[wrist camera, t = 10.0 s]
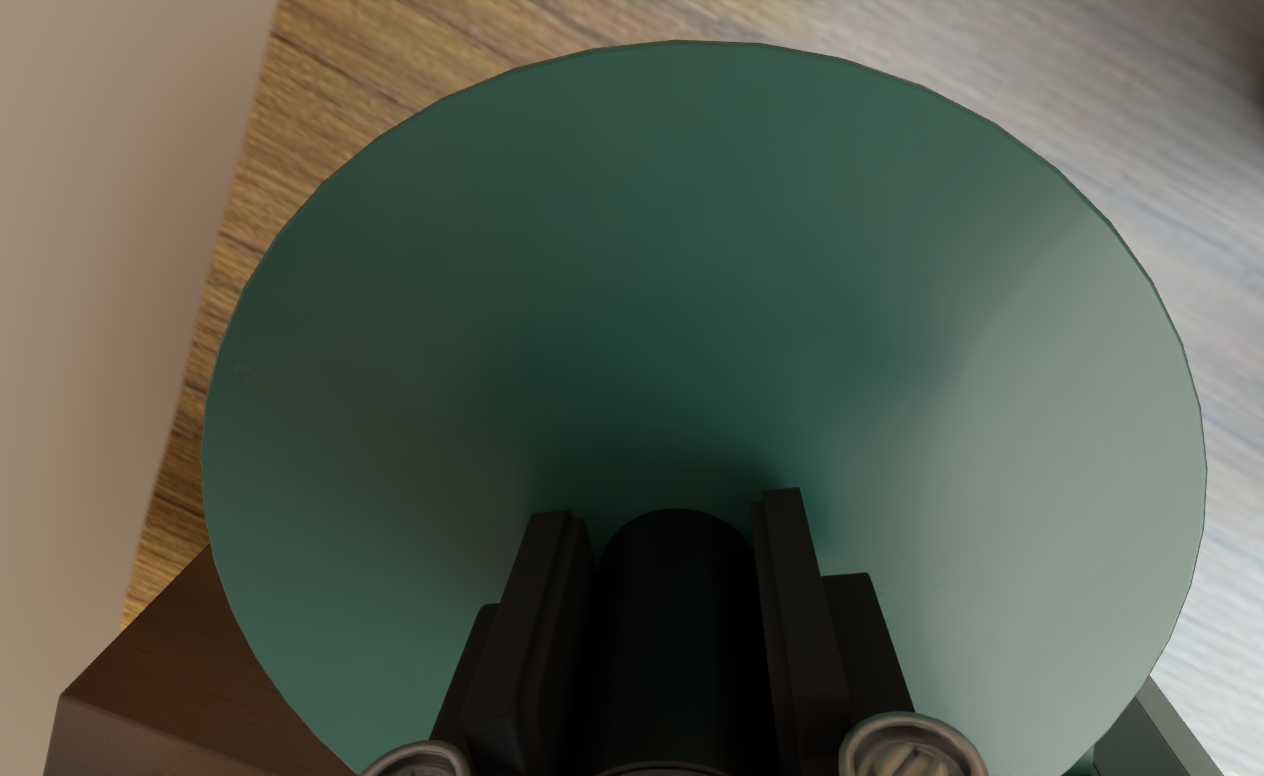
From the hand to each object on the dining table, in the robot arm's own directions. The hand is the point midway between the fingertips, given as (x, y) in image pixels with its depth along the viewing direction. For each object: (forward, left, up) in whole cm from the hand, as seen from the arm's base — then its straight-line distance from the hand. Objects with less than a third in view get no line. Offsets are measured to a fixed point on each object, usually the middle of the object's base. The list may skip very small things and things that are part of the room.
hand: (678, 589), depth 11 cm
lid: (0, 0, -1) cm, 1 cm away
